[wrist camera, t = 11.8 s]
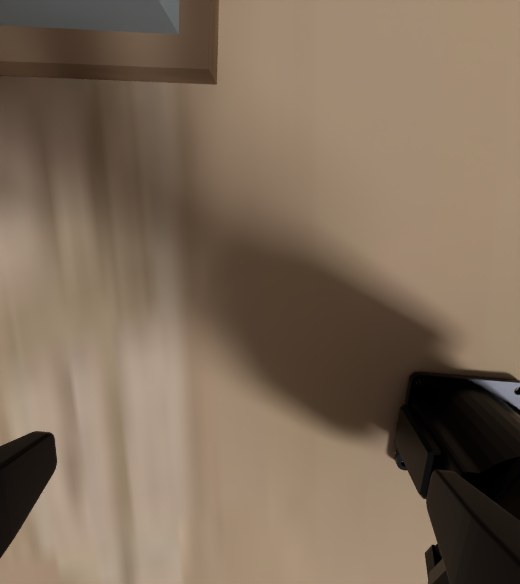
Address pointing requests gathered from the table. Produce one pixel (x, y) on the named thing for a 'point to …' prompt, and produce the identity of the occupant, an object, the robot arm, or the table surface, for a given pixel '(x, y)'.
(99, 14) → the grey slab
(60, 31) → the walnut slab
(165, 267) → the table surface
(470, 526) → the robot arm
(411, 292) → the table surface
